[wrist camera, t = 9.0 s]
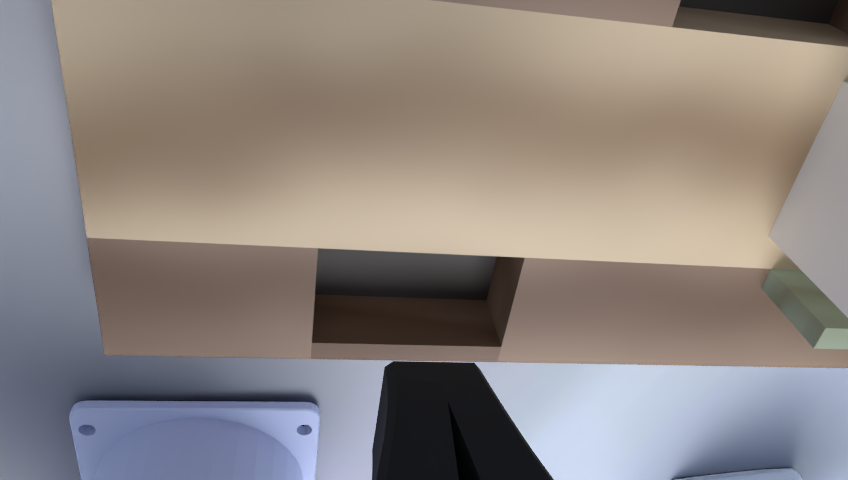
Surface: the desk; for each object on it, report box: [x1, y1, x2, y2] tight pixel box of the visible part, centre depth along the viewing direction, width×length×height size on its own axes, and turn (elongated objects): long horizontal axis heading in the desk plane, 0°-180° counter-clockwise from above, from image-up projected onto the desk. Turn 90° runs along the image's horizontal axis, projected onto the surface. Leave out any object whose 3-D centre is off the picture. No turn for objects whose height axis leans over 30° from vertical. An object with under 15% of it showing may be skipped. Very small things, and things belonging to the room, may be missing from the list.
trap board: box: [51, 0, 848, 368], centre depth 17 cm, size 14×24×5 cm, turn 82°
